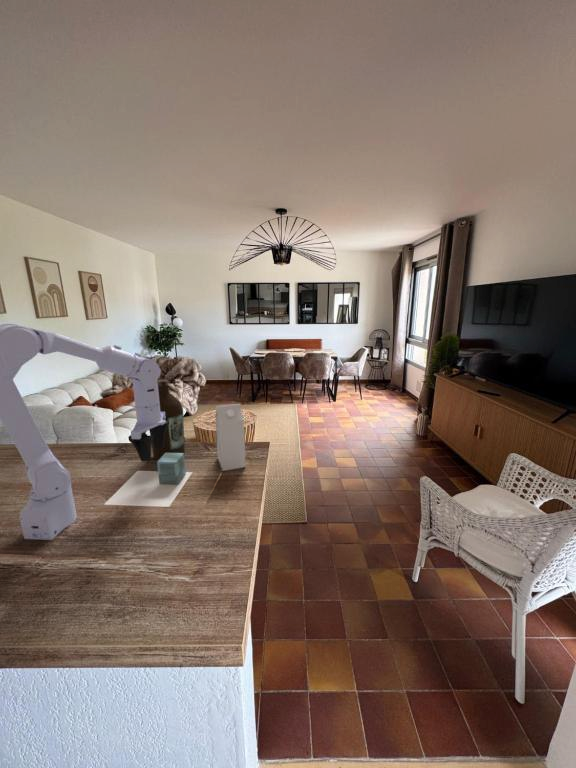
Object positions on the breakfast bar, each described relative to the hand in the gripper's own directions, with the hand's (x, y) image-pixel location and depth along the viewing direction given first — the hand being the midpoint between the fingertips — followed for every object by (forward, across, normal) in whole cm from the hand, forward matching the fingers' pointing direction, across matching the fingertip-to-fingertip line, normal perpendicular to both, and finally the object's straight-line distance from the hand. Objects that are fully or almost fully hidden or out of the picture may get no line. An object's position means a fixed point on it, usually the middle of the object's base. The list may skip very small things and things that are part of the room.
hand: (152, 453), depth 86 cm
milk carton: (+9, +13, -18) cm, 24 cm away
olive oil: (+9, +17, +3) cm, 19 cm away
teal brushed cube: (+8, +1, -4) cm, 9 cm away
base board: (+9, -3, 0) cm, 10 cm away
